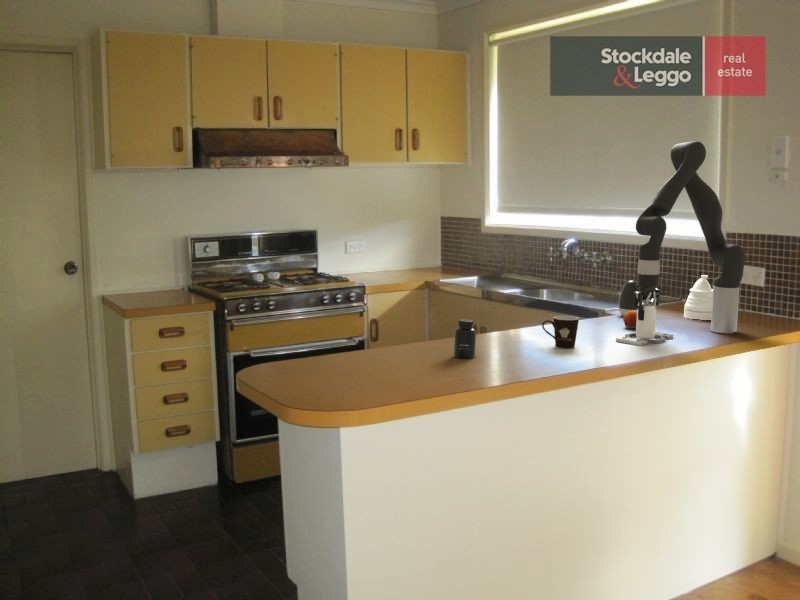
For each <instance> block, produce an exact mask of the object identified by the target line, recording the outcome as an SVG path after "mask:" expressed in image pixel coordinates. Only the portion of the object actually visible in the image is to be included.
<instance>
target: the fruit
mask: <svg viewBox="0 0 800 600" xmlns="http://www.w3.org/2000/svg"><path fill="white" fill-rule="evenodd" d="M636 322H637V311H629V312H626V313H625V315H624V316H623V323H624V326H625V328H627V329H636Z"/></svg>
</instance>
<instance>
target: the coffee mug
mask: <svg viewBox="0 0 800 600" xmlns="http://www.w3.org/2000/svg"><path fill="white" fill-rule="evenodd" d="M552 319H553V321H552V320H548V319H547V320H544V321H543V322H542V325H541V326H542V329H543V330H544V332H545V333H546V334H548V335H549V336H550V337H552V338H553V339H554V343H555V347H556V348H559V349H565V350H568V349H569V350H570V349H574V348H575V346H576V339H577V333H578V328H579V320H580V318H579V317H577V316H573V315H571V316H570V315H556V316H553V318H552ZM546 323H550V324H551V325H552V327H553V329H554V330H553V332H554V335H553V334H552V333H550V332H549V331H548V330H547V329H546V328H545V326H544V325H545V324H546Z"/></svg>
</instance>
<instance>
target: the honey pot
mask: <svg viewBox="0 0 800 600" xmlns="http://www.w3.org/2000/svg"><path fill="white" fill-rule="evenodd" d="M700 276H701V277H700V278H699V279H697V280H696V282H695V283H694V284H693V286H692V288H690V289H689V294H688V296H687V299H686V302H685V304H684V307H683V308H684V309H683V318H684V317H685V318H684V319H686V318H689V319H688V320H691V319H700V320H699V321H701V320H711V314H712V299H713V288H712V287H711V285H710V282H709V281H708V277H709V276H708V275H706V274H701V275H700Z"/></svg>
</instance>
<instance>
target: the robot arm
mask: <svg viewBox="0 0 800 600" xmlns="http://www.w3.org/2000/svg"><path fill="white" fill-rule="evenodd" d="M706 156H707V149H706V147H705V145H704V144H703V142H701V141H698V140H696V141H695V140H694V141H686V142H680V143H677V144H674V145H673V146H672V147H671V150H670V161H671V164H672V165H673V167H674V170H675V171H676V172H674V174H672V175H671V177H670V178H669V179H668V180H667V181H665V182H664V183H663V184H662V186H661V187H660V188H659V189H658V191H657V193H656V194H655V196H654V198H653V200H652V202H651V203H650V205H648V207H646V209H644V211H643V212H642V213H641V214H640V215H639V216H638V218H637V220H636V222H635V230H636V232H637V234H638V235H641V236H645V237H646V236H647V237H649V240H648V241H647V242H642V243H640V245H639V249H638V251H639V253H638V255H639V256H638V263H637V275H636V282H637V285H638V286H640V290H639V292H634V307H635V308H637V309H638V320H642V321H643V320H644V310H645V307H646V305H647V304H648V303H651V304H655V308H656V309H657V306H659V305H660V300H661V299H660V298H661V291H662V290H661V289H660V288H657V287H659V286H660V270H661V269H660V267H661V263H660V258H661V248H662V244H663V240H664V238H665V235H666V232H667V222H666V220H665V219H664V217H666V216H667V215H669V214H670V213H671V211H672V209H673V208H674V205H675V204H676V201H677V200H678V198H679V196H680V194H681V193H682V191H683V190H684V189H685V192H686V193H687V195H688V199H689V200H690V203H691V207H692V209H693V211H694V213H695V217H696V218H697V221H698V224H699V225H700V228H701V232H702V233H703V235H704V238H705V243H706V245H707V250H708V252H709V253H708V254H709V258H710V260H711V262H712V263H713V265H714V266H716V267H717V268H721V274H720V275H719V276H717V277H715V278H713V283H712V284H713V286H712V287H713V288H712V289H713V299H712V314H711V321H710V328H709V329H710V331H711V332H714V333H717V334H734V333H733V332H736V333H737V331H736V330H737V329H738V315H739V299H740V286H741V285H740V284H741V282H742V281H743V278H744V277H743V276H744V268H745V259H746V257H745V251H744V249H743V247H742V246H741V245H738V244H733V243H728V242H727V240H726V239H725V236H724V232H723V231H722V230H723V229H722V221H723V209H722V205H721V203H720V199H719V197H718V195H717V193H716V192H715V191H714V190H713V189H712V187H711V186H710V185H708V183H707V182H705V181H704V180H703V179H702V178H701V177H700V175H699V173H697V171H698V170H699V169H700V168H701V166H702V165H703V163H704V162H705V159H706ZM637 302H638V305H637ZM642 304H643V306H642Z"/></svg>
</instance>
